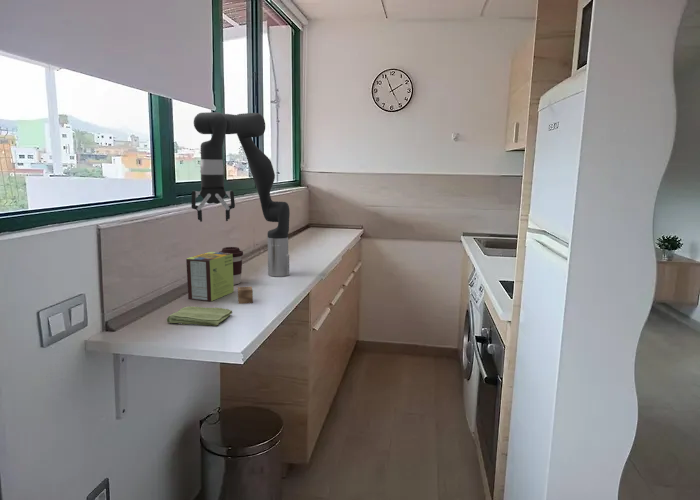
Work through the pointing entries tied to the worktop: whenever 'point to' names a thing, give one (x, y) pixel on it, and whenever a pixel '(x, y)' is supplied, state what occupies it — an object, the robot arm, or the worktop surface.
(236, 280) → the coffee cup
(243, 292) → the walnut cube
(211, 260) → the protein box
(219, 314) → the washcloth
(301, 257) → the worktop surface
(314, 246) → the worktop surface
